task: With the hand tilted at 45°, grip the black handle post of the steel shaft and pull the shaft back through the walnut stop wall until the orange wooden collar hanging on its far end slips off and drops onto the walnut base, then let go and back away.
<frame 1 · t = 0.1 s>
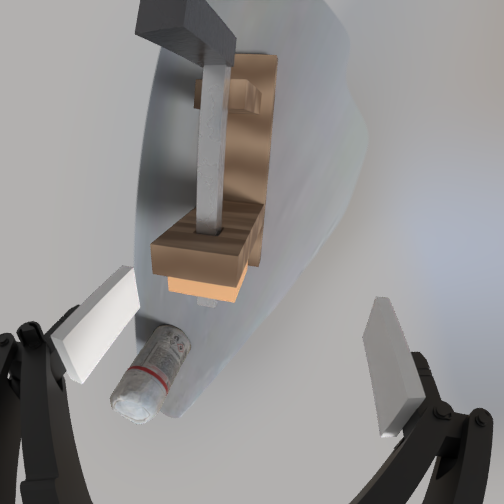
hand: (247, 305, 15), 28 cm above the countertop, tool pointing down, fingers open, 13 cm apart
spray can: (172, 338, 55), on the countertop
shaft: (189, 190, 22), point 20 cm above the countertop, slide at 0.0 cm, touching collar
rail base: (240, 159, 39), on the countertop
collar: (218, 256, 35), point 10 cm above the countertop, touching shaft
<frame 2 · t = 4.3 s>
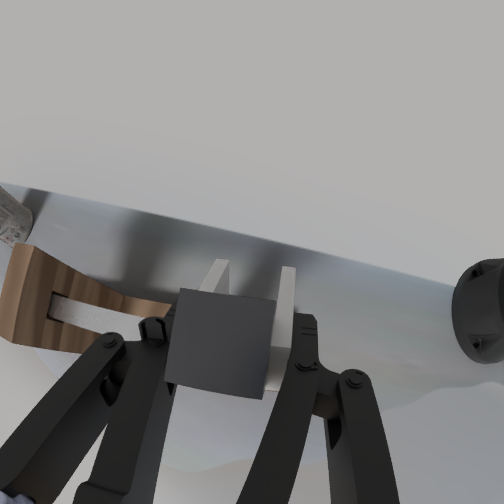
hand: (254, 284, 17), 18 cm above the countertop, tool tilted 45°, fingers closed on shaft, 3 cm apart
spray can: (22, 228, 42), on the countertop
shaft: (59, 307, 16), point 20 cm above the countertop, slide at 0.0 cm, touching collar, gripper
rail base: (162, 337, 34), on the countertop
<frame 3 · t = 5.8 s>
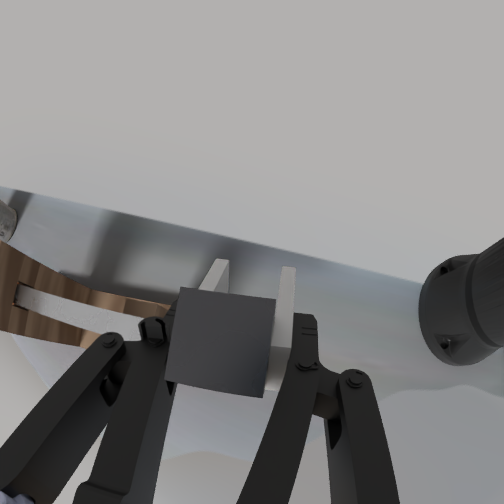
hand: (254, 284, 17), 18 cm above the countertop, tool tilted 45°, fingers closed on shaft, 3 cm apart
spray can: (7, 228, 43), on the countertop
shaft: (58, 307, 16), point 20 cm above the countertop, slide at 5.5 cm, touching gripper
rail base: (124, 328, 35), on the countertop
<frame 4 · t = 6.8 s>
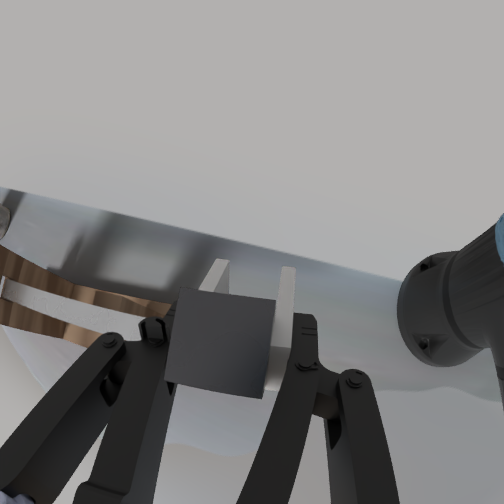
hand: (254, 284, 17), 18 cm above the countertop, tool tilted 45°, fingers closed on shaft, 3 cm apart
spray can: (1, 226, 43), on the countertop
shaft: (59, 306, 16), point 20 cm above the countertop, slide at 9.0 cm, touching gripper
rail base: (105, 322, 35), on the countertop
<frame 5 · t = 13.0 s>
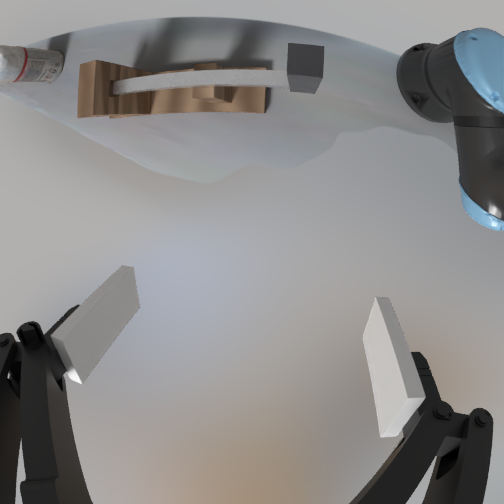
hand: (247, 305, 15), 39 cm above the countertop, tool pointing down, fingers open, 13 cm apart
spray can: (54, 66, 45), on the countertop
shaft: (191, 71, 27), point 19 cm above the countertop, slide at 9.0 cm
rail base: (183, 91, 46), on the countertop
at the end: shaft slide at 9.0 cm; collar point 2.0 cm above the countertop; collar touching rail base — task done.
